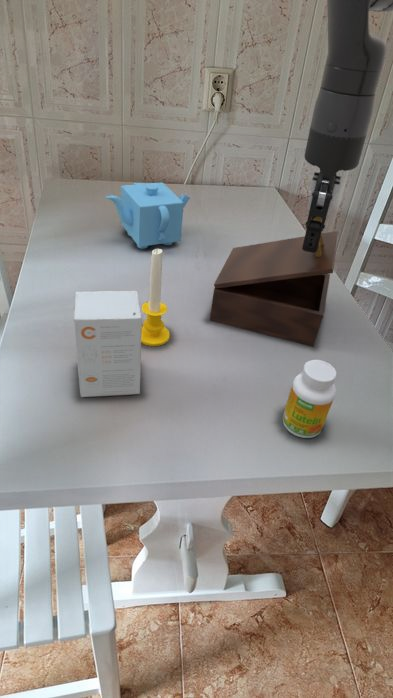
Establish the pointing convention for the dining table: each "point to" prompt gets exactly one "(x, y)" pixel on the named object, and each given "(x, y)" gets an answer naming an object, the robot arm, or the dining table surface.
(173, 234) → the teapot
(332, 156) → the robot arm
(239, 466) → the dining table surface
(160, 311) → the candle
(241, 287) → the chest
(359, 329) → the dining table surface
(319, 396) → the supplement bottle
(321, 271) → the lid
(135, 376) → the small box
